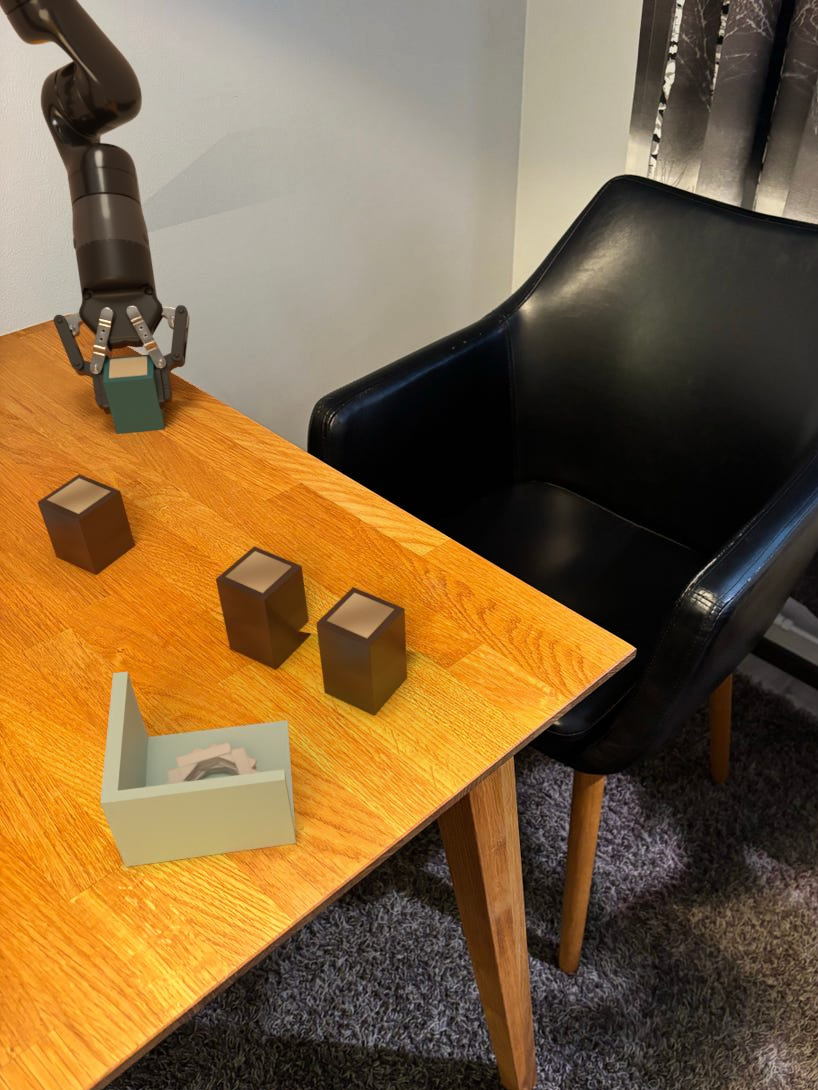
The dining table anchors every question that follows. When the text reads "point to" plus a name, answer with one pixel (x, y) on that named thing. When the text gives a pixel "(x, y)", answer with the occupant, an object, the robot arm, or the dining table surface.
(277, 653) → the walnut block
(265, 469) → the dining table surface
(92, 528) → the walnut block
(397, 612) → the walnut block
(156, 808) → the l-shaped corner panel
